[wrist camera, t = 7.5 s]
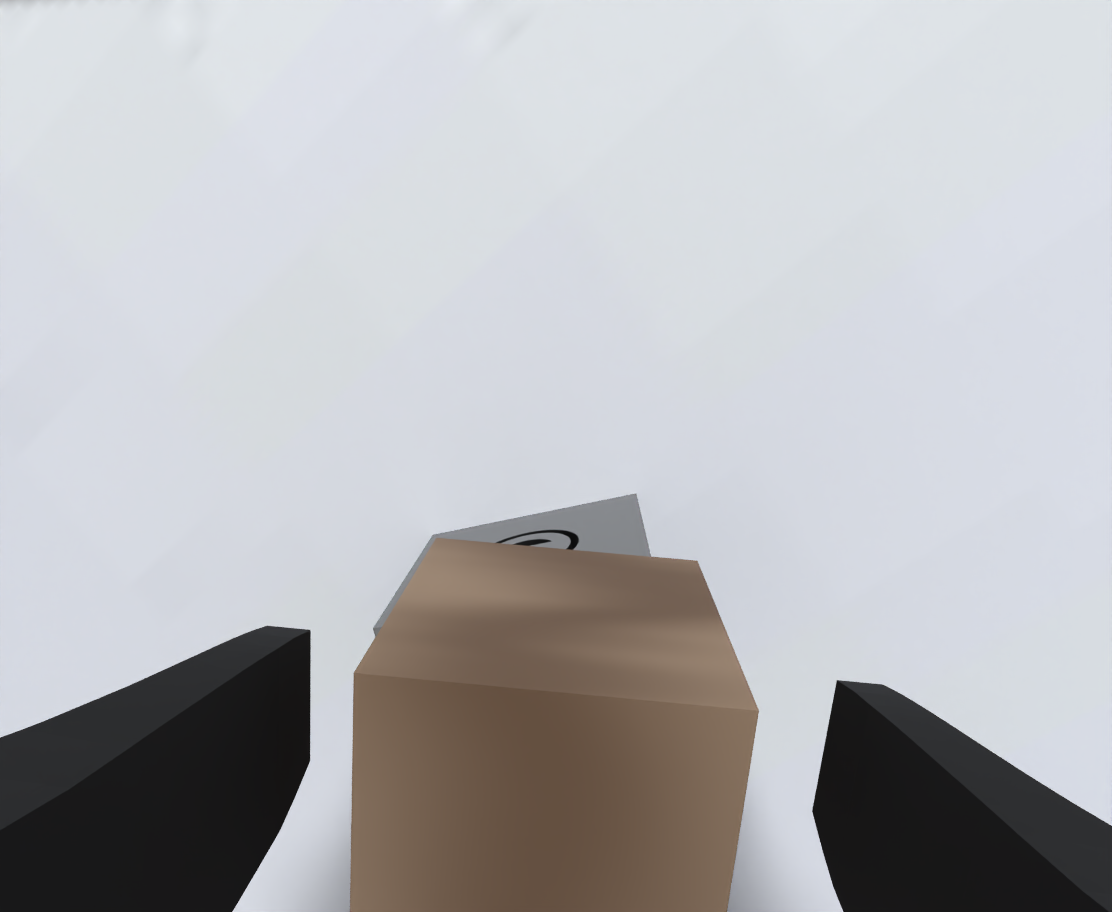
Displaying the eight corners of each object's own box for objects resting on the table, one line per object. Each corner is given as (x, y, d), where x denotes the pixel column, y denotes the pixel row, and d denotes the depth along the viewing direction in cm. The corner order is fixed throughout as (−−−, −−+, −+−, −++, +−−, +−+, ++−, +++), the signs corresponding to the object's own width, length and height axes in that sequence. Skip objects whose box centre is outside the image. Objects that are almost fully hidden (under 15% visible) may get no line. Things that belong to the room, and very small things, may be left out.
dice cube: (675, 680, 18) (707, 825, 13) (483, 714, 18) (445, 867, 14) (635, 492, 17) (655, 574, 12) (433, 534, 17) (373, 629, 13)
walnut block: (696, 561, 12) (758, 709, 8) (667, 788, 13) (706, 1033, 9) (436, 537, 12) (353, 672, 8) (426, 765, 13) (348, 996, 9)
